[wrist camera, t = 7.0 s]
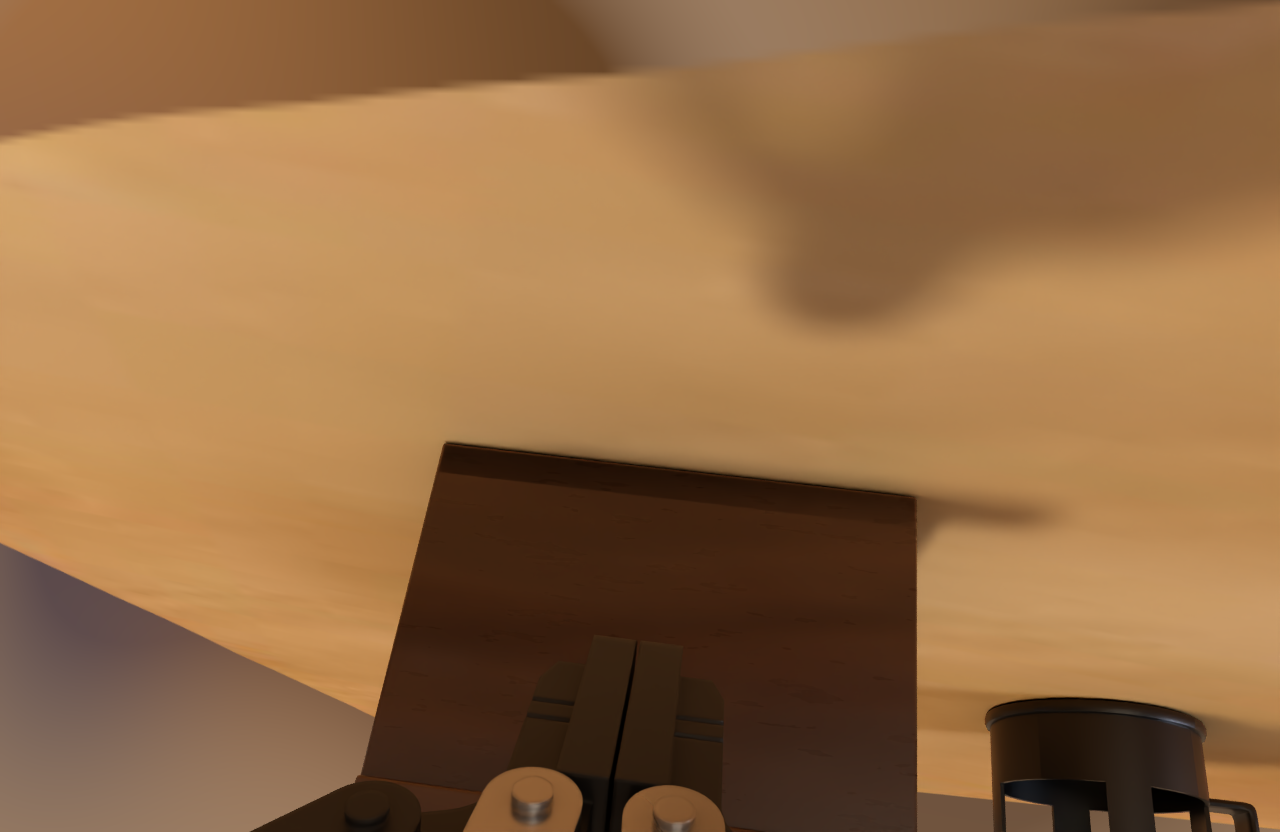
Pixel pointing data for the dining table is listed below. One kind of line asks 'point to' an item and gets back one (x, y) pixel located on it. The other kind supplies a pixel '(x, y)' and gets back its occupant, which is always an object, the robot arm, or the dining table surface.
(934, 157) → the dining table surface
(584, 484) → the tray
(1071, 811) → the french press
